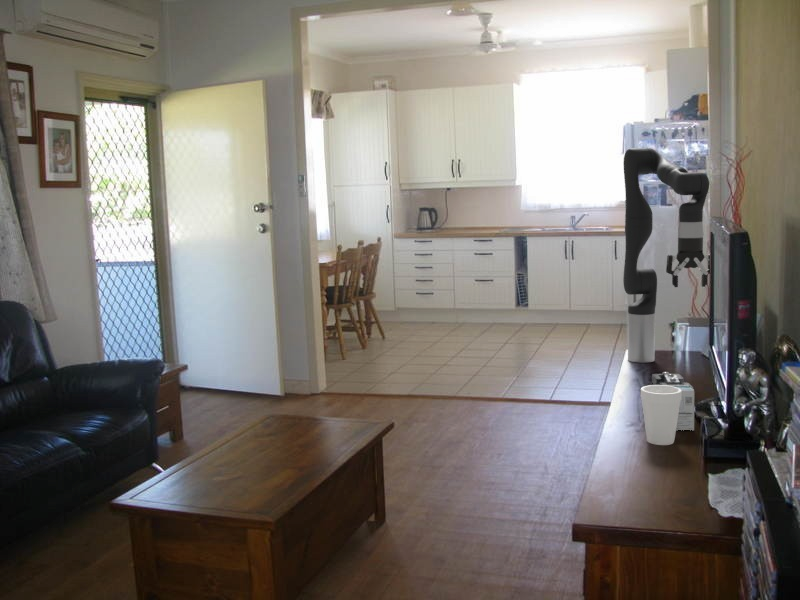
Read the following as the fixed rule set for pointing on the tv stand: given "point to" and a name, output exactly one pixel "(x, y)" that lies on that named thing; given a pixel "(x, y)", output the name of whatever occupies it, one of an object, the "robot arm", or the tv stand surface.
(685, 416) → the light bulb box
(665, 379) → the bolted link plate
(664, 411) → the foam cup
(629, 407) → the tv stand surface
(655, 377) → the end link
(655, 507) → the tv stand surface
